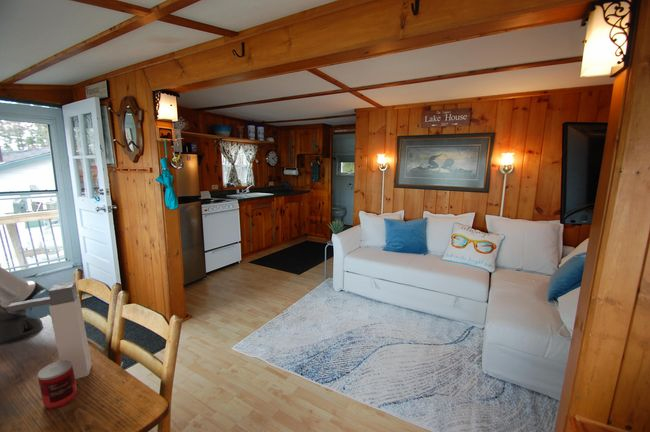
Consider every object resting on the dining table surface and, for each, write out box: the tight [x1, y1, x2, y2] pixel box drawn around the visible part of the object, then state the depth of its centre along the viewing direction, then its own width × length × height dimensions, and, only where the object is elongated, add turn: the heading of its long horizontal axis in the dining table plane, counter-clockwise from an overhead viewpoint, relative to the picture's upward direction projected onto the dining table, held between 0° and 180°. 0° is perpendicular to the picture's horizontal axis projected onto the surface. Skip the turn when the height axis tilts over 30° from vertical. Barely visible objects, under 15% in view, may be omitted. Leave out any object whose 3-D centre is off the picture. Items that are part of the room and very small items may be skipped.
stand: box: [49, 293, 93, 380], centre depth 96 cm, size 6×6×28 cm
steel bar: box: [8, 281, 79, 312], centre depth 90 cm, size 5×16×5 cm, turn 121°
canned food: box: [37, 360, 78, 410], centre depth 87 cm, size 8×8×11 cm
